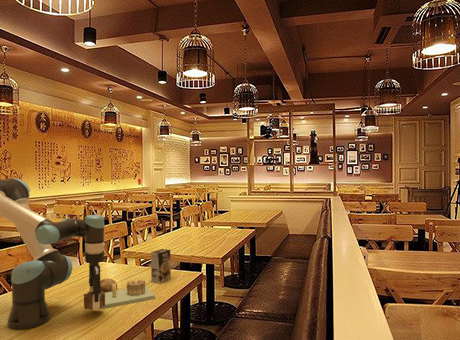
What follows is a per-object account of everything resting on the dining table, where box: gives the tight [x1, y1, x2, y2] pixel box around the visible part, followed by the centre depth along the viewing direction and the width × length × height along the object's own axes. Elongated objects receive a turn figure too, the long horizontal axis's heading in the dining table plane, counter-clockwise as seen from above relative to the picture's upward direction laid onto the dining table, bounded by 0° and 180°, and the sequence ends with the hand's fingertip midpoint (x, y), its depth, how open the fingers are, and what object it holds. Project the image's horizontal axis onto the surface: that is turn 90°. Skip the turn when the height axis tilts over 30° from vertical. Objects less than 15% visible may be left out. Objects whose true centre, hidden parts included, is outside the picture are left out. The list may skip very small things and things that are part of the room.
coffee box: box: [150, 248, 172, 284], centre depth 203 cm, size 9×6×16 cm
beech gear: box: [126, 279, 146, 296], centre depth 180 cm, size 8×8×5 cm
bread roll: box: [100, 278, 118, 293], centre depth 188 cm, size 10×10×8 cm
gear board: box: [100, 279, 156, 310], centre depth 178 cm, size 24×16×8 cm, turn 118°
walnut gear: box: [83, 291, 105, 311], centre depth 159 cm, size 8×8×5 cm
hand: (94, 305), depth 159 cm, fingers closed on walnut gear, 8 cm apart
